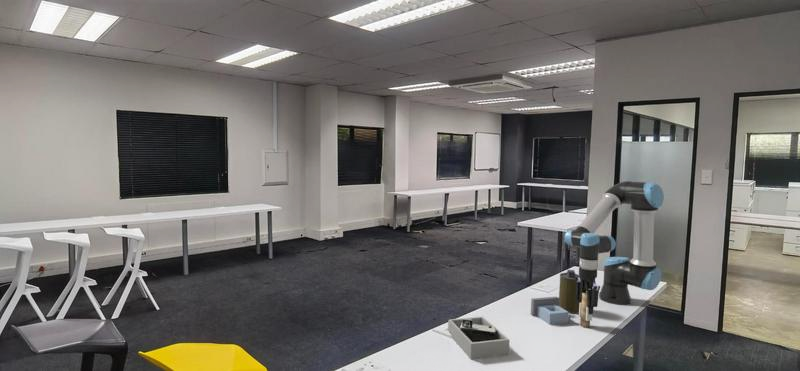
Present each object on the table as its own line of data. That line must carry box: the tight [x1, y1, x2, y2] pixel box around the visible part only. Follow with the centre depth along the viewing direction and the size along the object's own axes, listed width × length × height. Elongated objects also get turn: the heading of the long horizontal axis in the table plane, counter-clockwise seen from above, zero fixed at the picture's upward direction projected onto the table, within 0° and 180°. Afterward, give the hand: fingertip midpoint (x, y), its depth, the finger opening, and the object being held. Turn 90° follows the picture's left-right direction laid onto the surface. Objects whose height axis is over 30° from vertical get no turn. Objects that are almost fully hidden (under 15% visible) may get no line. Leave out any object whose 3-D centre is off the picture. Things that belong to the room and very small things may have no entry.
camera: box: [460, 317, 497, 342], centre depth 168 cm, size 15×8×10 cm, turn 71°
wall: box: [530, 296, 559, 317], centre depth 200 cm, size 14×2×8 cm, turn 105°
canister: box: [558, 269, 580, 315], centre depth 207 cm, size 11×10×20 cm
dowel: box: [579, 291, 591, 329], centre depth 187 cm, size 4×4×15 cm
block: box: [536, 304, 570, 325], centre depth 194 cm, size 10×10×5 cm
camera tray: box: [447, 316, 510, 360], centre depth 168 cm, size 16×23×6 cm
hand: (585, 318), depth 187 cm, fingers closed on dowel, 4 cm apart
